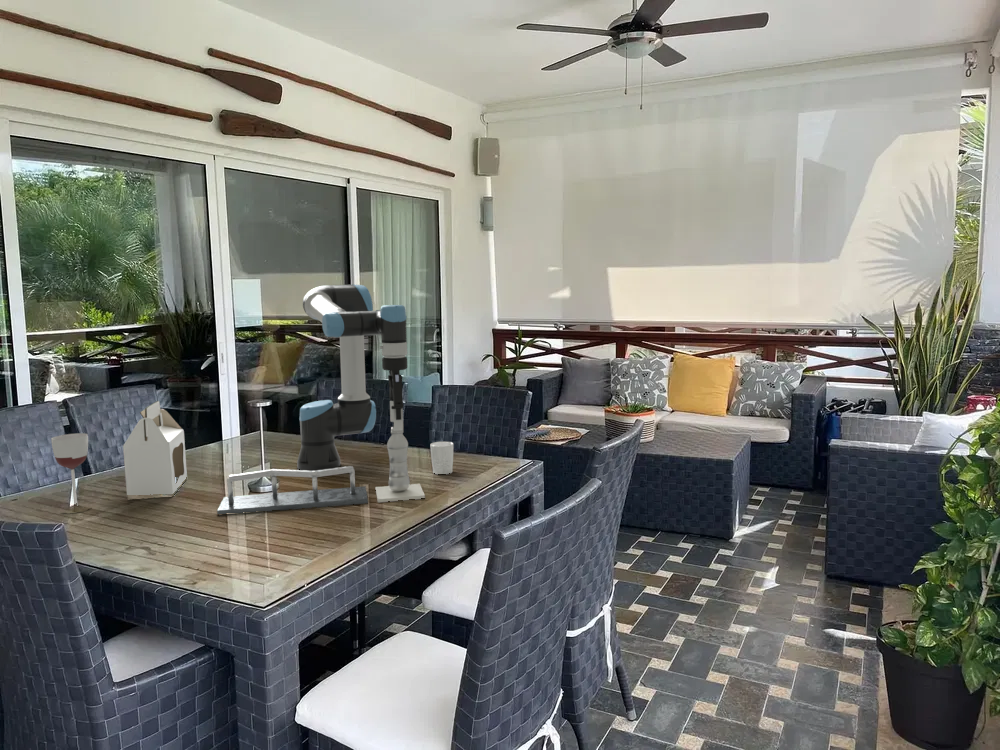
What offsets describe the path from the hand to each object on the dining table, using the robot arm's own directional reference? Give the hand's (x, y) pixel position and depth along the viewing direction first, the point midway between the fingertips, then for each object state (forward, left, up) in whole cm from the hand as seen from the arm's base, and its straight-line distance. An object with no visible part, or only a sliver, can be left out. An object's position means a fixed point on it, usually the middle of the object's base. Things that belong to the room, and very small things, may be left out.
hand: (396, 425), depth 224 cm
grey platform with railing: (0, -31, -21) cm, 38 cm away
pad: (0, 0, -21) cm, 21 cm away
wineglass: (-11, -94, -22) cm, 97 cm away
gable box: (-28, -75, -22) cm, 83 cm away
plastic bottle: (0, 0, -21) cm, 21 cm away
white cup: (-23, +17, -22) cm, 36 cm away
